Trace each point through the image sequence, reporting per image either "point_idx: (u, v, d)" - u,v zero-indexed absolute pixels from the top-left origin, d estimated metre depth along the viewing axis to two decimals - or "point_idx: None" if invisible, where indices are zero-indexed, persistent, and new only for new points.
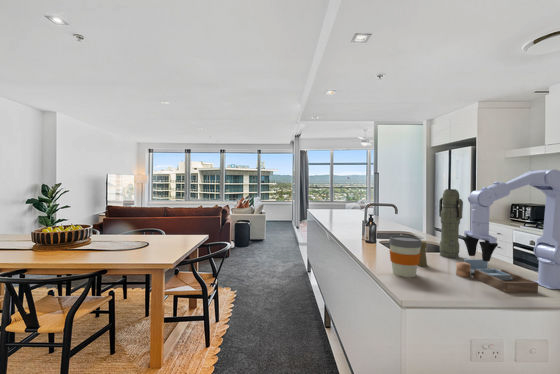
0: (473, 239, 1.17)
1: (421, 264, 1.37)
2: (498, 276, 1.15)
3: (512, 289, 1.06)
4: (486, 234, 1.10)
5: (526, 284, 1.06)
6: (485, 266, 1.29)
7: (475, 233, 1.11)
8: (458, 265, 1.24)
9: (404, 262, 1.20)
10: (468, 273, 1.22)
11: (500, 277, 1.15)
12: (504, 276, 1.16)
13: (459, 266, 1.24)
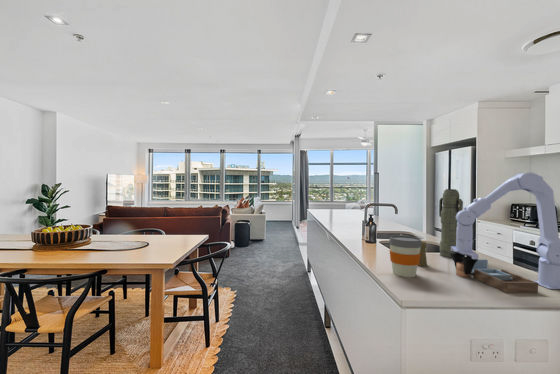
0: (460, 255, 1.27)
1: (421, 264, 1.37)
2: (498, 276, 1.15)
3: (512, 289, 1.06)
4: (469, 250, 1.22)
5: (526, 284, 1.06)
6: (485, 266, 1.29)
7: (459, 250, 1.23)
8: (458, 265, 1.24)
9: (404, 262, 1.20)
10: None
11: (500, 277, 1.15)
12: (504, 276, 1.16)
13: (459, 266, 1.24)
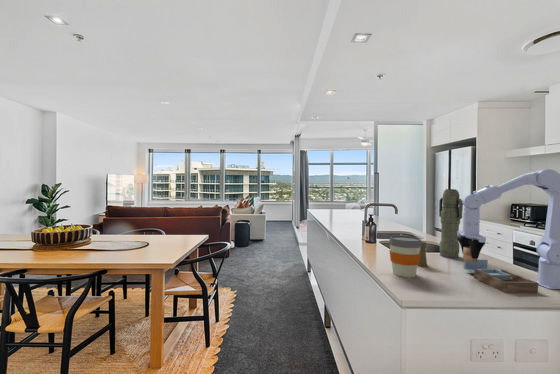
0: (467, 239, 1.26)
1: (421, 264, 1.37)
2: (498, 276, 1.15)
3: (512, 289, 1.06)
4: (476, 234, 1.20)
5: (526, 284, 1.06)
6: (485, 266, 1.29)
7: (466, 234, 1.22)
8: (465, 249, 1.23)
9: (404, 262, 1.20)
10: None
11: (500, 277, 1.15)
12: (504, 276, 1.16)
13: (466, 250, 1.22)
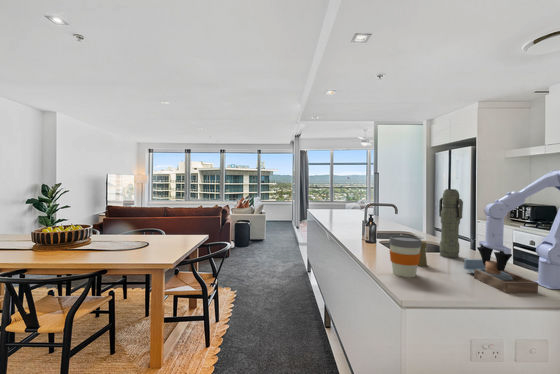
0: (487, 249, 1.23)
1: (421, 264, 1.37)
2: (498, 276, 1.15)
3: (512, 289, 1.06)
4: (500, 245, 1.16)
5: (526, 284, 1.06)
6: (485, 266, 1.29)
7: (490, 244, 1.18)
8: (488, 264, 1.19)
9: (404, 262, 1.20)
10: (499, 272, 1.17)
11: (500, 277, 1.15)
12: (504, 276, 1.15)
13: (489, 265, 1.18)
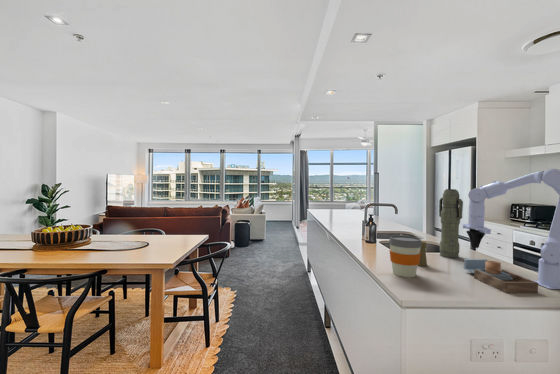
0: None
1: (421, 264, 1.37)
2: (498, 276, 1.15)
3: (512, 289, 1.06)
4: (482, 226, 1.27)
5: (526, 284, 1.06)
6: None
7: (472, 226, 1.28)
8: (488, 264, 1.19)
9: (404, 262, 1.20)
10: (499, 272, 1.17)
11: (500, 277, 1.15)
12: (504, 276, 1.15)
13: (489, 265, 1.18)
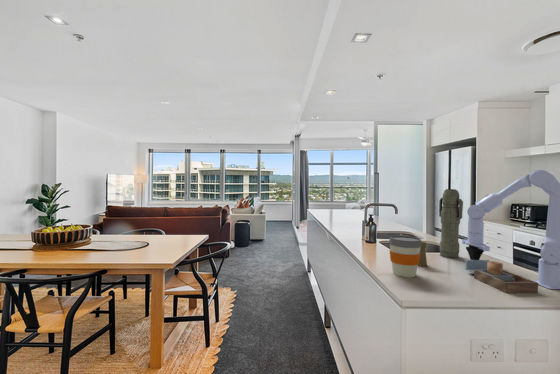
0: None
1: (421, 264, 1.37)
2: (500, 277, 1.14)
3: (512, 289, 1.06)
4: (481, 243, 1.27)
5: (526, 284, 1.06)
6: None
7: (471, 242, 1.29)
8: (490, 265, 1.18)
9: (404, 262, 1.20)
10: (501, 273, 1.16)
11: (502, 278, 1.14)
12: (506, 277, 1.15)
13: (491, 266, 1.17)
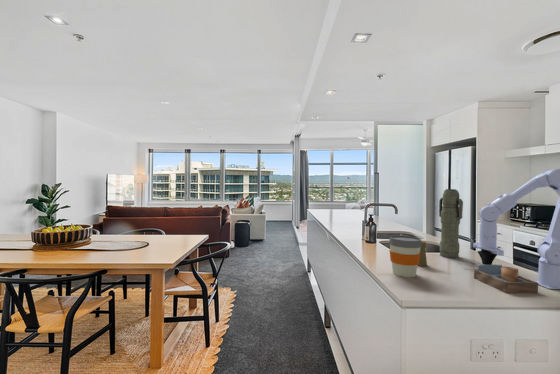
0: None
1: (421, 264, 1.37)
2: None
3: (512, 289, 1.06)
4: (494, 247, 1.20)
5: (526, 284, 1.06)
6: (500, 272, 1.21)
7: (483, 246, 1.21)
8: (505, 270, 1.10)
9: (404, 262, 1.20)
10: (516, 279, 1.09)
11: None
12: None
13: (506, 271, 1.10)
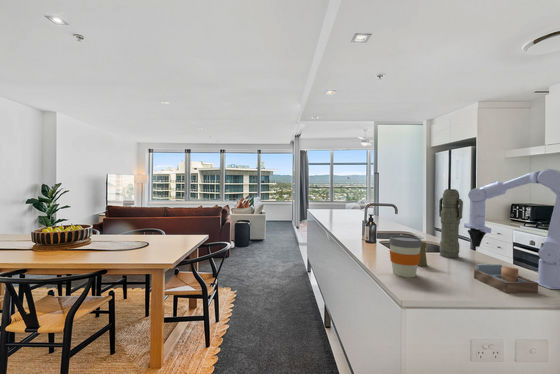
0: None
1: (421, 264, 1.37)
2: None
3: (512, 289, 1.06)
4: (482, 225, 1.30)
5: (526, 284, 1.06)
6: (499, 272, 1.21)
7: (473, 225, 1.31)
8: (505, 270, 1.10)
9: (404, 262, 1.20)
10: (517, 279, 1.09)
11: None
12: None
13: (507, 271, 1.10)
